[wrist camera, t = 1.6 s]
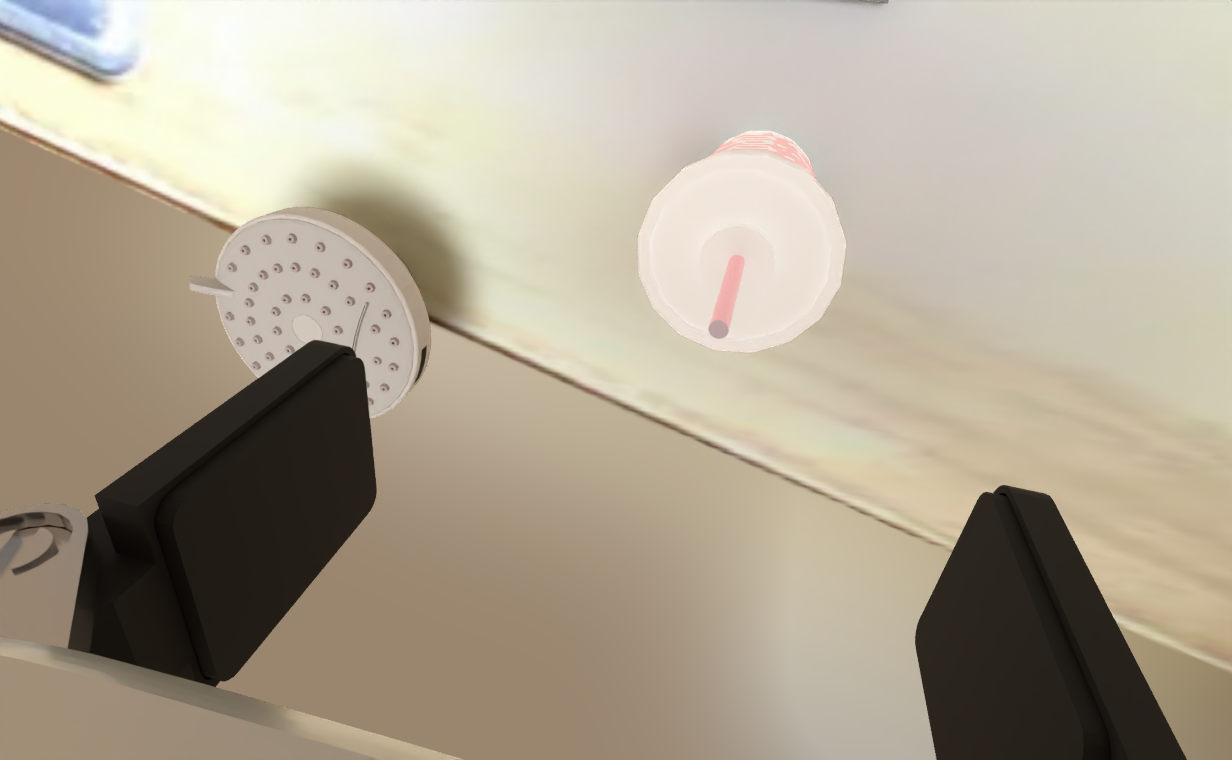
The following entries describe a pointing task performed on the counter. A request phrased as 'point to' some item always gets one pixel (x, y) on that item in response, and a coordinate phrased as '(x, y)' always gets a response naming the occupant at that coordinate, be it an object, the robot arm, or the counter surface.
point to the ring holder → (882, 0)
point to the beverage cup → (743, 246)
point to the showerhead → (321, 298)
